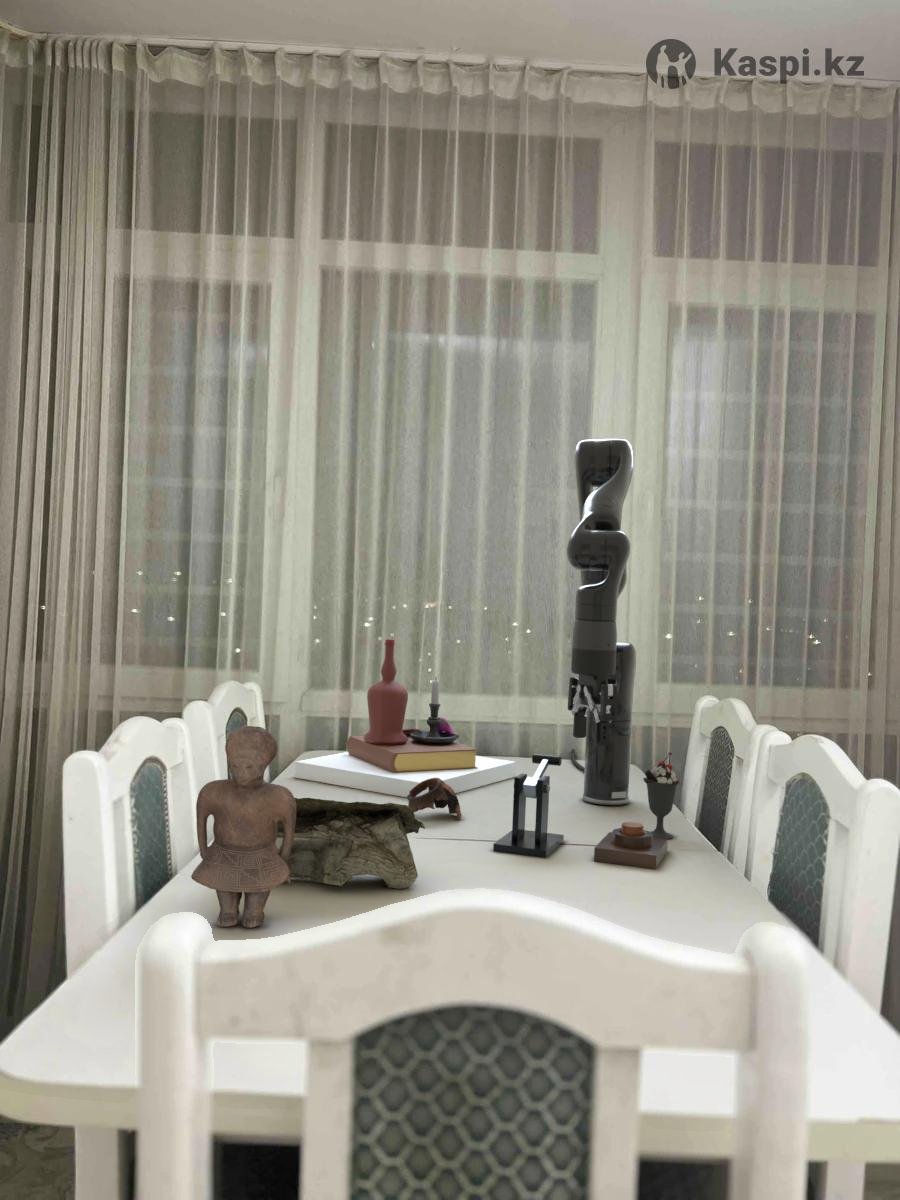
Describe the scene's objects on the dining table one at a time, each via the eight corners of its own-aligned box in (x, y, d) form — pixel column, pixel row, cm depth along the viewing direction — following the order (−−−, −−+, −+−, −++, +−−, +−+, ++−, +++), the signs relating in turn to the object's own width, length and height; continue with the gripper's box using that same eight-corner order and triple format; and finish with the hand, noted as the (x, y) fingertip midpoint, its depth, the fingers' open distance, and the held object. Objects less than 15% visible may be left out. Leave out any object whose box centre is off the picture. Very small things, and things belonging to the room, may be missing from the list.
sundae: (680, 834, 191) (683, 752, 191) (675, 842, 185) (679, 757, 185) (643, 829, 194) (647, 748, 193) (638, 837, 187) (641, 754, 187)
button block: (608, 844, 181) (609, 821, 181) (667, 852, 178) (668, 828, 178) (593, 861, 170) (594, 836, 170) (655, 869, 167) (657, 844, 167)
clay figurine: (180, 933, 128) (187, 729, 127) (199, 908, 138) (206, 718, 137) (286, 938, 128) (294, 733, 127) (298, 912, 138) (305, 722, 137)
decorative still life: (522, 774, 245) (528, 642, 244) (427, 801, 211) (433, 648, 210) (399, 755, 263) (405, 633, 263) (294, 777, 230) (300, 636, 229)
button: (623, 831, 176) (623, 820, 176) (644, 833, 175) (645, 823, 175) (619, 835, 173) (619, 825, 173) (641, 838, 172) (641, 827, 172)
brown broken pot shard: (463, 826, 192) (444, 788, 190) (417, 845, 194) (398, 807, 192) (468, 797, 204) (449, 761, 202) (424, 814, 205) (405, 779, 204)
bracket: (513, 835, 185) (516, 768, 185) (563, 841, 182) (566, 774, 182) (493, 850, 174) (496, 779, 174) (545, 857, 171) (548, 785, 171)
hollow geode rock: (230, 910, 152) (214, 855, 141) (243, 834, 161) (229, 776, 150) (423, 912, 152) (422, 857, 141) (425, 836, 161) (425, 778, 150)
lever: (534, 762, 189) (534, 750, 188) (561, 764, 187) (561, 752, 186) (515, 796, 178) (514, 783, 177) (544, 799, 176) (543, 786, 175)
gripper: (633, 650, 174) (629, 747, 174) (595, 644, 187) (591, 735, 188) (592, 649, 171) (588, 748, 172) (557, 643, 185) (553, 735, 185)
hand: (589, 741), depth 180 cm, fingers open, 8 cm apart
